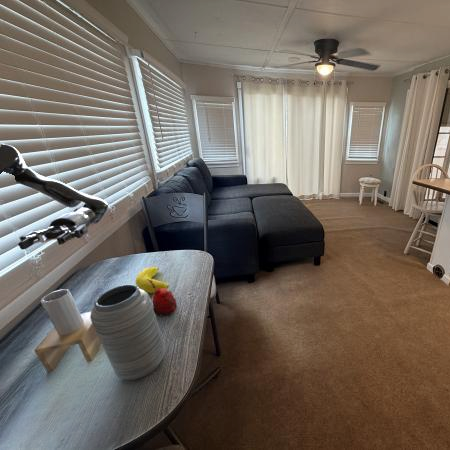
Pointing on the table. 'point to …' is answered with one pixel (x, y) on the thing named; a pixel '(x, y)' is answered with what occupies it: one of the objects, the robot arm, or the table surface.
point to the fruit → (143, 282)
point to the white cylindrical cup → (62, 311)
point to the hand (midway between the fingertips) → (40, 243)
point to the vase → (128, 331)
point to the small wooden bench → (68, 344)
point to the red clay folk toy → (163, 301)
